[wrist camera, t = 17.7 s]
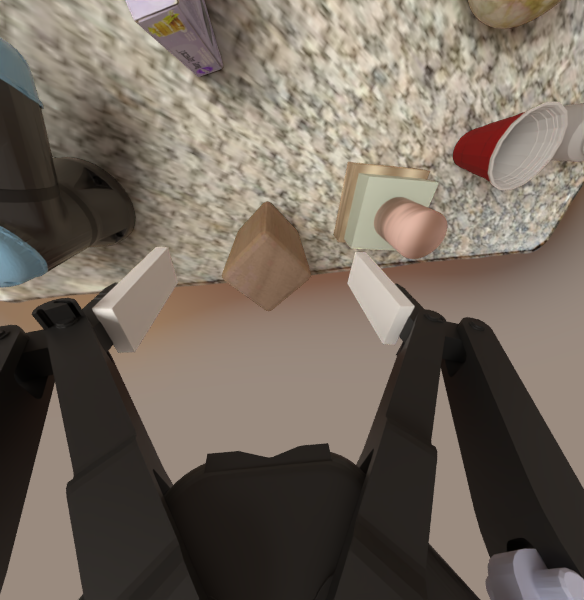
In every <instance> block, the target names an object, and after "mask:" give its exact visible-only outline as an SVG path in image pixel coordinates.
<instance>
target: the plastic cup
mask: <svg viewBox="0 0 584 600" xmlns="http://www.w3.org/2000/svg"><path fill="white" fill-rule="evenodd" d="M567 126H568V116H567V110H566V108H565V107H564V106H563V105H562V104H561V103H560V102H544V103H542V104H540V105H538V106H536V107H534V108H531V109H529V110H527V111H526V112H524V113H521V114H518V115H516V116H513V117H509V118H506V119H503V120H500V121H497V122H493V123H490V124H488V125H485V126H483V127H479V128H476V129H474V130H471V131H469V132H468V133H466V134H465V135H464V136H462V137H461V138H460V140H459V141H458V143H457V144H456V146H455V149H454V151H453V160H454V162H455V164H456V165H458V166H459V167H461V168H463V169H466V170H467V171H469V172H471V173H473V174H476V175H478V176H480V177H482V178H485V179H486V180H488V181H490V183H491V184H492V185H493V186H495V187H496V188H497V189H499V190H512V189H515V188H517V187H519V186H521V185H524V184H525V183H527V182H528V181H529V180H531V179H532V178H533V177H535V176H536V175H537V174H538V173H539V172H540V171H541V170H542V169H543V168H544V167H545V166H546V165H547V163H548V162H549V161H550V160H551V159H552V157H553V156H554V154H555V153H556V151H557V149H558V148H559V146H560V144H561V143H562V141H563V138H564V135H565V132H566V129H567Z"/></svg>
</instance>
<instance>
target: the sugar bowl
mask: <svg viewBox="0 0 584 600" xmlns="http://www.w3.org/2000/svg"><path fill="white" fill-rule="evenodd" d="M560 1H561V0H468V3H469V6H470V8H471V11H472V12H473V14H474V15H475V16H476V17H477V18H478V20H479V21H481V22H482V23H484V24H486V25H488V26H490V27H493V28H501V29H507V28H512V27H517V26H520V25H523V24H525V23H528V22H530V21H532V20H534V19H536V18H537V17H539V16H541V15H543V14H544V13H545V12H547V11H548V10H550V9H551V8H552V7H554V6H555V5H556V4H557V3H559V2H560Z"/></svg>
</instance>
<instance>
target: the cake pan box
mask: <svg viewBox="0 0 584 600" xmlns="http://www.w3.org/2000/svg"><path fill="white" fill-rule="evenodd" d="M125 1H126V3H127V5H128V7H129V10H130V12H131V15H132V17H133V19H134V21H135V22H136V23H137V24H139V25H140V26H141V27H142V28H143V29H144V30H145V31H146V32H148V33H149V34H150V35H151V36H152V37H153V38H154V39H156V40H157V41H158V42H159V43H160V44H161V45H163V46H164V47H165V48H166V49H167V50H168V51H169V52H171V53H172V54H173V55H174V56H175V57H176V58H177V59H179V60H180V61H181V62H182V63H183V64H184V65H185V66H186V67H188V68H189V69H190V70H191V71H192V72H193V73H194V74H196V75H197V76H198V77H200V76H203V75H206V74H209V73H212V72H215V71H217V70H220V69H222V68H223V63H222V59H221V55H220V52H219V49H218V45H217V42H216V39H215V35H214V32H213V28H212V25H211V22H210V18H209V15H208V11H207V8H206V4H205V1H204V0H125Z"/></svg>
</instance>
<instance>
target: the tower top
mask: <svg viewBox="0 0 584 600" xmlns="http://www.w3.org/2000/svg"><path fill="white" fill-rule="evenodd" d="M438 184H439V182H435V181H430V180H426V179H421V178H410V177H399V176H388V175H376V174H365V173H359V175H358V179H357V183H356V188H355V192H354V197H353V201H352V206H351V210H350V214H349V219H348V223H347V228H346V232H345V236H344V240H345V241H346V243H347V244H348V245H349V246H350V248H351V249H372V250H393V251H397V250H396V249H395V248H393V247H392V246H391V245H390V244H389V243H388V242H387V241H385V240H384V239H383V238H382V237H381V236H380V235H379V234H378V233H377V232H376V231H375V228H374V219H375V215H376V213H377V211H378V210H379V208H380V207H381V206H382V205H383V204H384V203H385V202H386V201H388V200H390V199H392V198H395V197H404V198H407V199H409V200H411V201H414V202H416V203H418V204H421V205H423V206H425V207H429V205H430V203H431V200H432V198H433V195H434V193H435V191H436V188H437V186H438Z"/></svg>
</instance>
